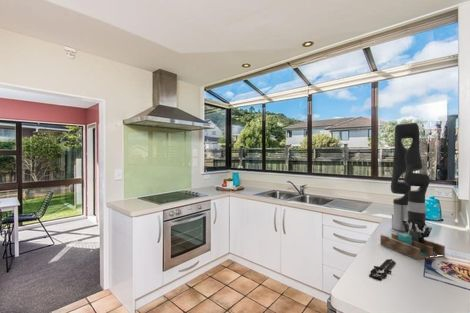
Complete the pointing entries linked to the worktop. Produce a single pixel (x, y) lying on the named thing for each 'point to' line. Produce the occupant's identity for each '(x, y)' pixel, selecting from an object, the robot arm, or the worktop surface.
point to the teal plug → (405, 238)
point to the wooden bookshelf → (413, 247)
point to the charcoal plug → (414, 235)
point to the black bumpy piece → (386, 270)
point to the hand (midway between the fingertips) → (416, 242)
